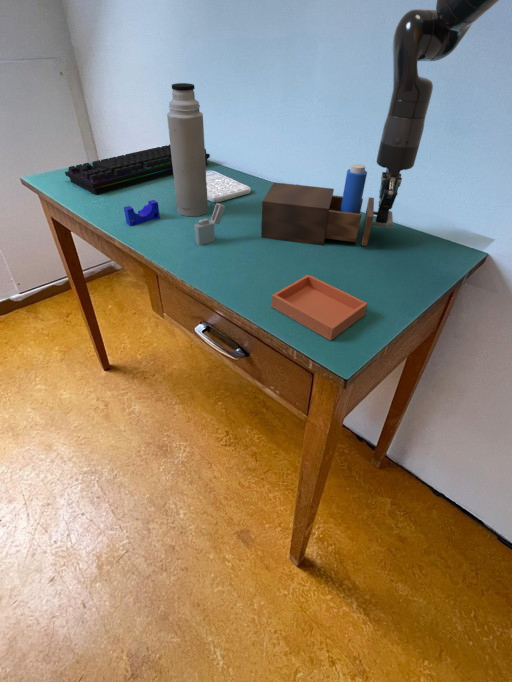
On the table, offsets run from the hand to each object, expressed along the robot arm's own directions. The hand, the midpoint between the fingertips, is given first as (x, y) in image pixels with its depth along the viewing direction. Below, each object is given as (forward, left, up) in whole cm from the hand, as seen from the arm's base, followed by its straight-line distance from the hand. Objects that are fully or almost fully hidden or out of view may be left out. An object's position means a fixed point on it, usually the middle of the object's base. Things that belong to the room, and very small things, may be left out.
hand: (380, 223), depth 90 cm
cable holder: (+57, +5, -4) cm, 57 cm away
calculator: (+47, -21, -4) cm, 52 cm away
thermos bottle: (+47, -4, -4) cm, 47 cm away
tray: (+10, +32, -4) cm, 34 cm away
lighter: (+37, +11, -4) cm, 39 cm away
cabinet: (+19, 0, -4) cm, 19 cm away
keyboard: (+72, -28, -4) cm, 78 cm away
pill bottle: (+7, 0, -2) cm, 8 cm away
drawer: (+7, 0, -3) cm, 7 cm away
